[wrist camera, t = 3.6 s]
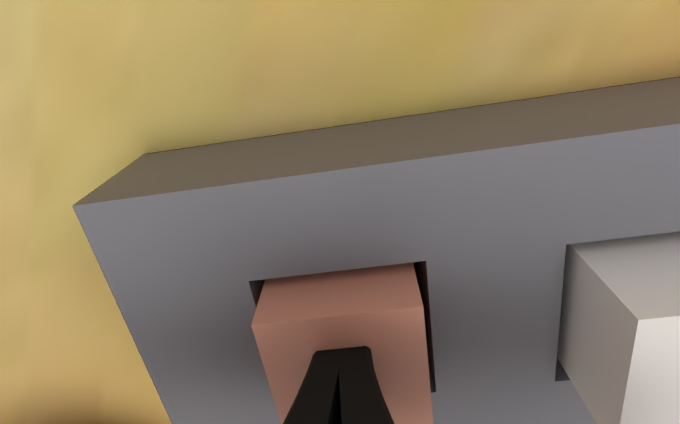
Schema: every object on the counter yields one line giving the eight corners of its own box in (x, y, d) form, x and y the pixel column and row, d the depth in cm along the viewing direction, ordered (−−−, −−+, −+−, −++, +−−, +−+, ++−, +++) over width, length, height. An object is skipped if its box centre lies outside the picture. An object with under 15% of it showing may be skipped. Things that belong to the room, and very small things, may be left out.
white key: (704, 207, 12) (862, 297, 8) (678, 323, 13) (799, 441, 10) (552, 225, 12) (638, 319, 8) (545, 336, 14) (614, 455, 10)
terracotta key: (403, 225, 13) (423, 306, 10) (413, 326, 15) (433, 427, 11) (277, 240, 14) (251, 324, 10) (301, 338, 15) (285, 440, 12)
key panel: (810, 58, 12) (1000, 80, 9) (729, 331, 17) (835, 421, 13) (144, 154, 14) (72, 205, 10) (224, 379, 18) (193, 471, 15)
